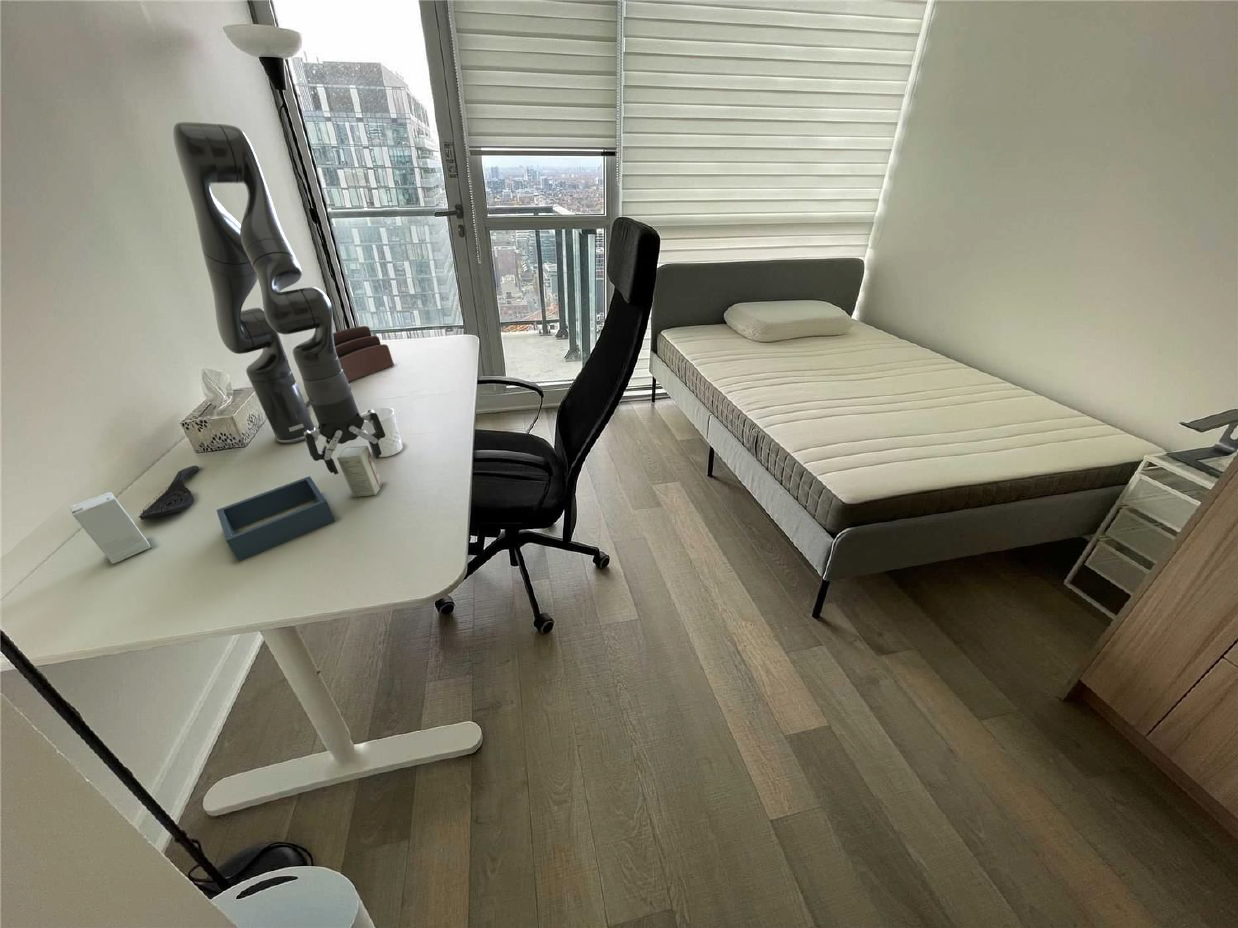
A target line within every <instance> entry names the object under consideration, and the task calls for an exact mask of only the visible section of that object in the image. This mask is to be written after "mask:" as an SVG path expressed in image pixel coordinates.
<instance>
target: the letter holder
mask: <svg viewBox="0 0 1238 928" xmlns="http://www.w3.org/2000/svg"><path fill="white" fill-rule="evenodd" d="M333 338H334V345H335V350H336V353H337V356H338V359H339V362H340V365H341V367H342V370H343V372H344V374H345V376H346V378H347V380H348V383H350V382H353V381H356V380H358V379H361V378H363V377H366V376H369V375H372V374H375V373H377V372H379V371H382V370H385V369H388V368H390V367H393V366H395V363H394V360H393V358H392V357H393V356H392V354H391V351H390V348H389V345H388V344H382V342H381V340H380V337H379V336H378V335H373V334H372V331H371V328H370V327H369V326H367V325H362V326H354V327H350V328H345V329H342V330H338V331H335V332H333Z"/></svg>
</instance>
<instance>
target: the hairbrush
mask: <svg viewBox="0 0 1238 928" xmlns="http://www.w3.org/2000/svg"><path fill="white" fill-rule="evenodd" d="M199 470H200V467H199V466H198V465H190V466H188V467H185V468H183V469H181V470H179V471H178V472H176V474H175V476H174V479H173V480H172V481H171V483H170V485H169V486H166V488H164V490H165V491H164V492H162V490H161V491H160V493H161V494H159V495H158V496H157V498H156V497H154V498H153V500H154V501H153V502H151V501H149V503H147V505H146V506H144V508H145V509H142V511H141V510H140V515H139V516H138V518H139V519H140V521H143V520H147V519H153V518H158V517H161V516H166V515H169V514H173V513H177V512H180V511H182V510H186V509H188V508H189V507H190V506H191V505H192V504H193V503H194V501H195V499H194V495H193V493H192V491H191V490H190V489H189V487H187V485H186V484H185V482H186V481H187V479H188V478H189V477H190V476H191V475H193V474H194V473H196V472H197V471H199ZM155 498H156V499H155ZM151 503H152V504H151Z"/></svg>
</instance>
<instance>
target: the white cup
mask: <svg viewBox="0 0 1238 928" xmlns="http://www.w3.org/2000/svg"><path fill="white" fill-rule="evenodd" d="M371 410H373V411H374V412H375V413H376V414H377V415H378V418H379V420H380V423H381V425H382V428H383V430H384V432H385V437H384V438H381V439H379V441H378V444H379V447H380V450H381V455H379V456H380V458H387V457H391V456H395V455H396V454H398V453H400V452H401V451H402V450H403V442H402V439H401V433H400V428H399V425H398V421H397V417H396V413H395V410H394V408H392V407H385V406H383V407H376V408H372V409H371ZM366 413H368V410H366V411H364V412H363V413H361V414H360V415H363V414H366ZM362 429H364V430H365V431H367V432H369V433H370V434H373V433H375V430H374V427H373V425H372V423H369V422H368V421H367V420H364V424H363V426H362ZM367 442H368V443H369V441H368V440H367Z"/></svg>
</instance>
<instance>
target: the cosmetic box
mask: <svg viewBox="0 0 1238 928" xmlns="http://www.w3.org/2000/svg"><path fill="white" fill-rule="evenodd" d="M69 510H70V512H71V515H72V516H73V518H74V519H75V520H76V521H77V522H78V523H79V525H80V526H81V527H82V528H83V530H84V531H85V532H86V533H87V535H88V536H89V537H90V538H91V539H92V541H93V542H94V543H95V544H96V546H97V547H98V548H99V549H100V550H101V552H102V553H103V555H104V556H105V557H106V558H107V559H108V560H109V562H110V563H111V564H113V565H114V564H117V563H119V562H121V561H124V560H126V559H128V558H131V557H133V556H134V555H137V554H140V553H142V552H144V551H146V550H149V549H150V548H151V545H150V543H149V541H148V539H147V538H146V537H145V536H144V534H143V533H142V531H141V530H140V529H139V527H138V526H137V525H136V523H135V522H134V521H133V519H132V517H130V515H129V513H127V511H126V510H125V508H124V507H123V506H122V504H121V503H120V502H119V500H117V498H116V496H115V494H113V493H112V491H108V492H106V493H103V494H100V495H97V496H95V497H92V498H90V499H87V500H84V501H82V502H81V501H80V502H78V503H76V504H73V505H70V506H69Z"/></svg>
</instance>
